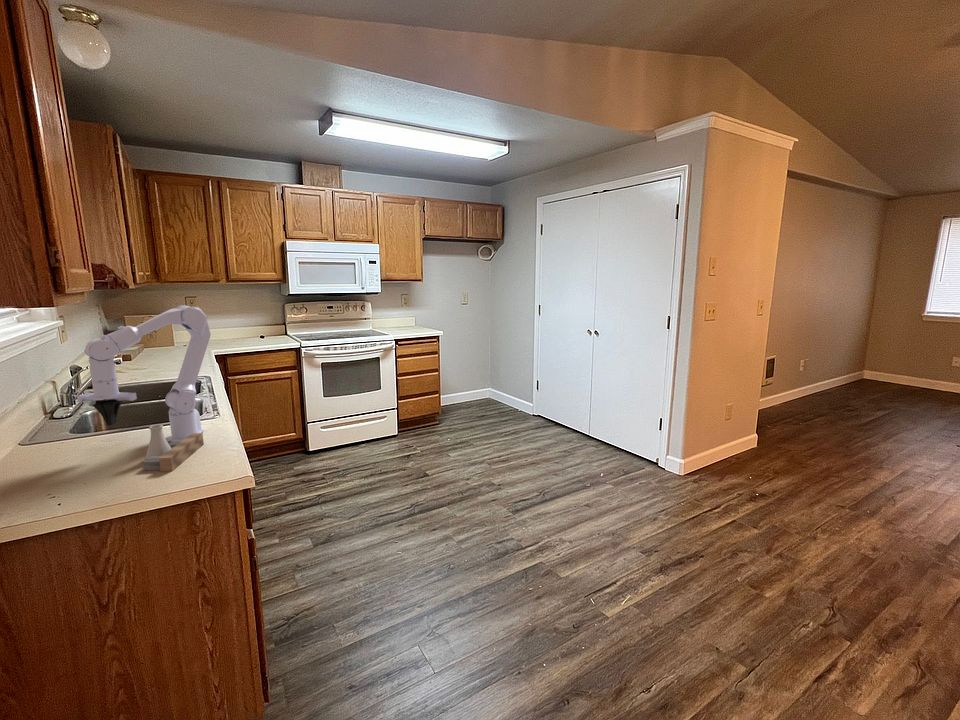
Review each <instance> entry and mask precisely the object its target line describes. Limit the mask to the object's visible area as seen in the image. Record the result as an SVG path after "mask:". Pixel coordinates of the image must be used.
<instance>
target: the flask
mask: <svg viewBox="0 0 960 720" xmlns="http://www.w3.org/2000/svg"><path fill="white" fill-rule="evenodd" d="M163 428H164V425H163V424H153V425H150V426H148V429H149V430H150V439H149V443H148V446H147V451H146V454H145V455H144V456H145V457H144V459H143V462H144V461H145V460H146V459H148V458H149V457H150V456H162V455H164V454H165V453H166V452H168V451H169V450H170V449H172V448H171V447H170V445H169V441H167V439H166V437H165V435H164V432H163Z"/></svg>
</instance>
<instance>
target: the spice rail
mask: <svg viewBox="0 0 960 720" xmlns="http://www.w3.org/2000/svg"><path fill="white" fill-rule="evenodd" d="M203 433H204V432H202V433H192V434H190V435H189V436H188V437H186V438H185V439H184V440H173V441H169V442H168V444H169V445H170V447H171V448H172V449H170V450H169V451H168V452H166V453H165V454H164V455H162V456H150V457H149V458H148V459H146V460H145V461H144V460H143V461H142V466H143V467H142V468H143V471H144V472H145V471H160V472H163V473H164V472H173V471H175V470H176V469H177V468H178V467H179V466H180V465H182V464H183V463H184V462H185V461H186V460H188V459H189V458H190V457H191V456H192V455H193V454H195V453H196V452H197V451H198V450H199V449H200V448H202V447H203V445H204V444H205V443H204V435H203Z"/></svg>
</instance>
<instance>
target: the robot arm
mask: <svg viewBox="0 0 960 720" xmlns="http://www.w3.org/2000/svg"><path fill="white" fill-rule="evenodd" d="M168 325H181V326H182V327H184V328H185V330H186V331H187V332H188V333H189V335H190V340H189V343H188V345H187V348H186V352H185V354H184V358H183V361H182V363H181V368H180V370H179V374H178V377H177V380H176V381H175V383H174V384H173V385H172V387H171V389H170V391H169V392H168V393H166V395H165V399H164V402H165V404H166V405H167V407H169V409H168V418H169V427H170V434H171V436H170V437H168V438H167V439H166V440H167V442H171V441H173V440H184V439H185V438H186V437H188V436H189V435H190V434H192V433H204V432H205V429H202V426H201V415H200V412H199V411H198V409H196V408H195V407H196V405H197V401H196V395H197V390H196V382H197V380H198V377H199V373H200V370H201V366H202V364H203V360H204V357H205V354H206V350H207V349H208V345H209V342H210V339H211V330H210V327H209V324H208V316H207V314H206V313H205V312H204V311H203V310H202V309H201V308H200V307H198V306H189V305H184V304H181V305H178V306H177V307H174V308H170V309H167V310H166V311H164V312H162V313H160V314H157V315H156V316H154V317H152V318H150V319H147V320H146V321H144V322H142V323H140V324H138V325H136V326H131V325H126V326H124V325H121V326H118V327H117V330H115V331H113V332H110V333H108V334H102V335H100V338H97V339H96V338H95V339H92V340H90V341H89V342H87V343H86V345H85V348H84V353H85V354H86V356H88V363H89V373H90V379H91V384H92V390H93V391H92V392H93V393H87V394H79V395H77V396H76V398H77V403H86V402H87V403H89V402H90V403H91V402H95V403H94V404H92V405H93V407H94V409H95V410H96V411H98V413H99V414H100V415H101V417H102V419H103V420H104V422H105V424H106V426H113V425H115V424H117V416H118V413H119V409H120V407H121V404H122V403H123V401H129V402H130V401H135V400H137V399H138V398H137V393H136V392H125V391H124V392H122V391H121V392H120V390H119V383H118V378H117V369H116V365H115V362H114V360H115V359H114V357H115V355H116V353H120V352H123V351H124V350H126V349H128V348H130V347H132V346H134V345H137V344H139V343H140V342H141V340H142V338H143V336H145V335H149V334H150V333H153V332H154V331H157V330H159V329H162V328H164V327H166V326H168Z"/></svg>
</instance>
